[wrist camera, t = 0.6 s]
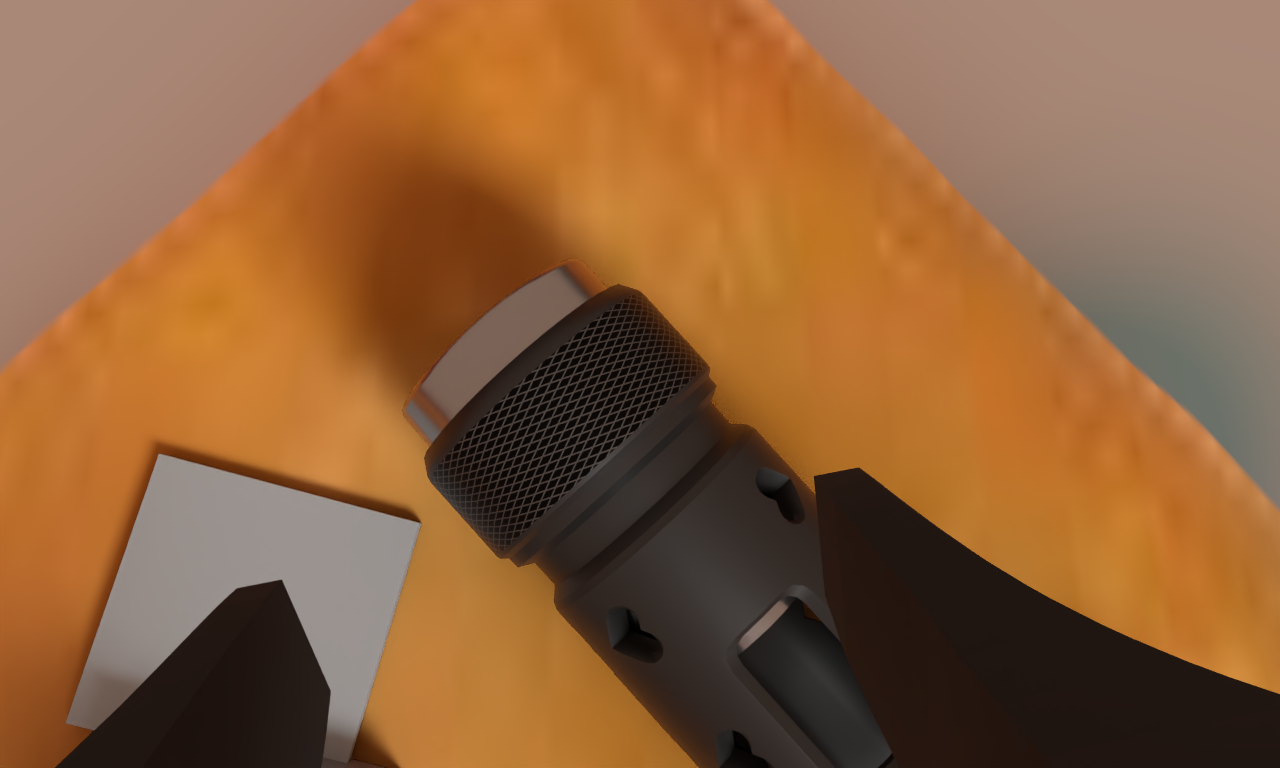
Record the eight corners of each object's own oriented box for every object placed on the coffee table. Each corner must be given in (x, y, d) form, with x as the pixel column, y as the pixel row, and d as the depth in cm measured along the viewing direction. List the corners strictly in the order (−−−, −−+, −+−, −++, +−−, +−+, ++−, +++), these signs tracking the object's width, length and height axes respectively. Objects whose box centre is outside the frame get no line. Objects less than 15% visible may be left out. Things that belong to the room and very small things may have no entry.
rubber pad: (342, 786, 34) (338, 791, 34) (73, 719, 34) (65, 723, 33) (421, 522, 36) (419, 523, 35) (165, 454, 35) (158, 453, 34)
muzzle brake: (895, 982, 35) (1034, 1177, 25) (409, 441, 36) (353, 417, 26) (1060, 800, 37) (1255, 915, 27) (590, 284, 38) (603, 204, 27)
